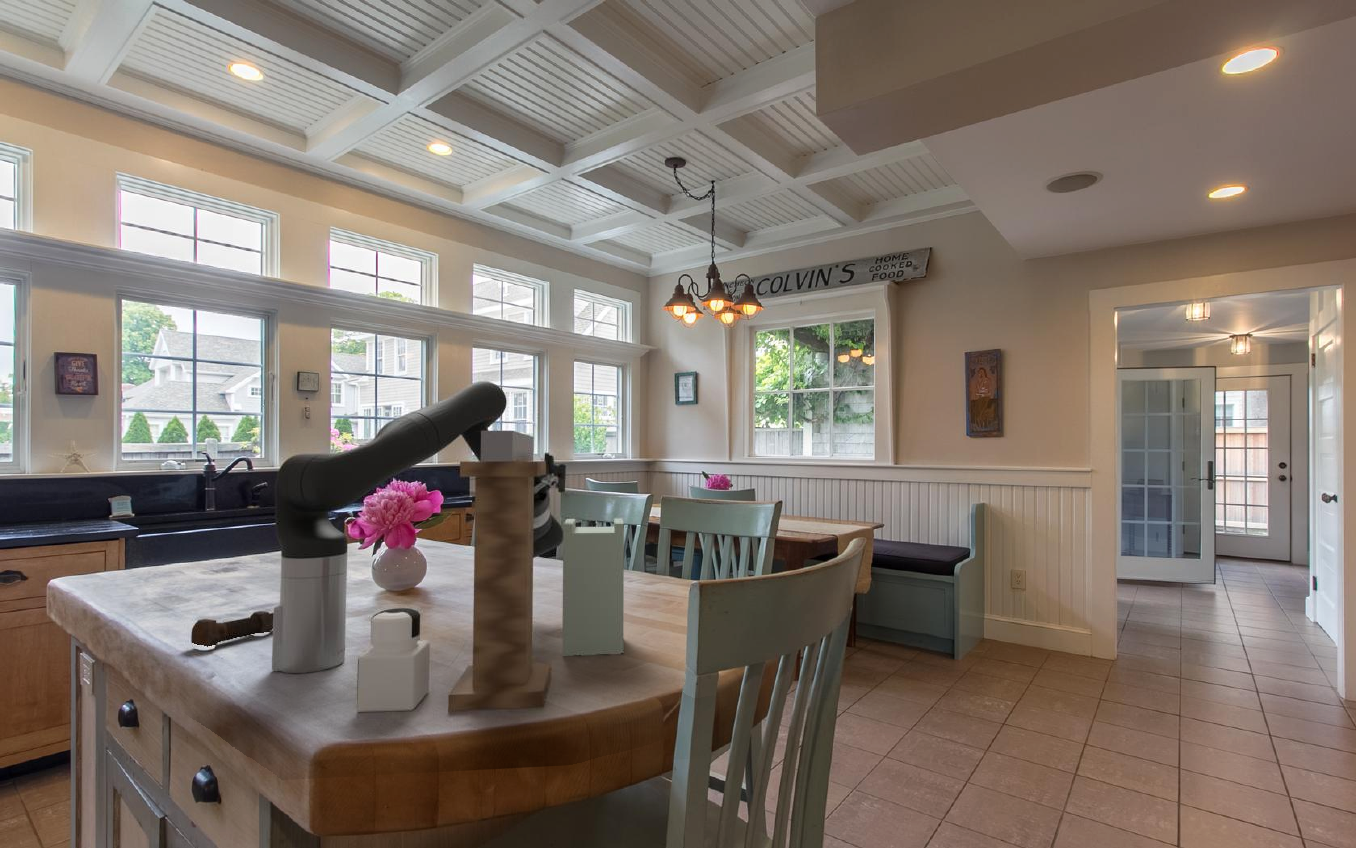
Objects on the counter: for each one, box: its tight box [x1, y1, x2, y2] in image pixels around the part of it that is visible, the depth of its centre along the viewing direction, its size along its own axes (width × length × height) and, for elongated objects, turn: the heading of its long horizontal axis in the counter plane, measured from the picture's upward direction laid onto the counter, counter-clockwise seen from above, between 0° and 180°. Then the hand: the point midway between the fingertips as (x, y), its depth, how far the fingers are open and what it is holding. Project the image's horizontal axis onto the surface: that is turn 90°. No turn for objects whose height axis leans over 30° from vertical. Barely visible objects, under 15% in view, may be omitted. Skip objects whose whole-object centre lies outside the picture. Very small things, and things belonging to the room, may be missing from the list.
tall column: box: [447, 460, 552, 712], centre depth 91 cm, size 12×12×32 cm
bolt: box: [190, 610, 274, 647], centre depth 118 cm, size 6×5×15 cm
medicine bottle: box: [356, 607, 431, 713], centre depth 87 cm, size 7×7×12 cm
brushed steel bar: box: [481, 430, 534, 462], centre depth 96 cm, size 4×24×4 cm, turn 6°
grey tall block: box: [561, 517, 625, 657], centre depth 113 cm, size 10×10×22 cm
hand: (520, 457), depth 107 cm, fingers open, 8 cm apart
